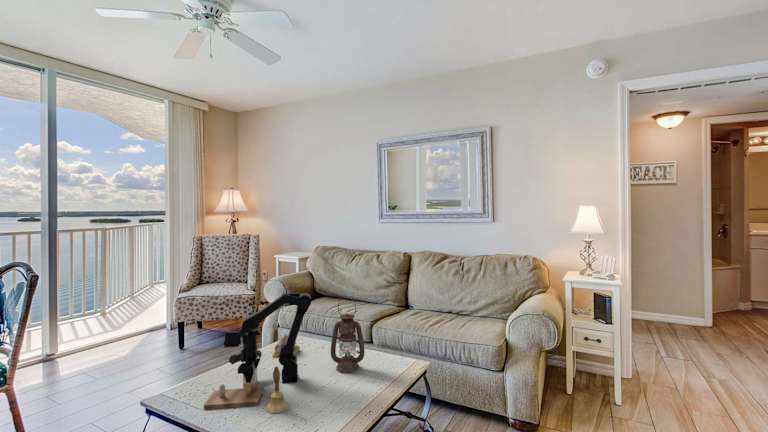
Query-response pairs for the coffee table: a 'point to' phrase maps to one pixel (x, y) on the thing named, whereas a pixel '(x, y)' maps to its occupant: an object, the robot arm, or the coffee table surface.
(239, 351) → the robot arm
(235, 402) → the pin board
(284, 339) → the ceramic model
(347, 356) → the lantern
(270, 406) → the hand bell
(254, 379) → the sleeve
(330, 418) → the coffee table surface
